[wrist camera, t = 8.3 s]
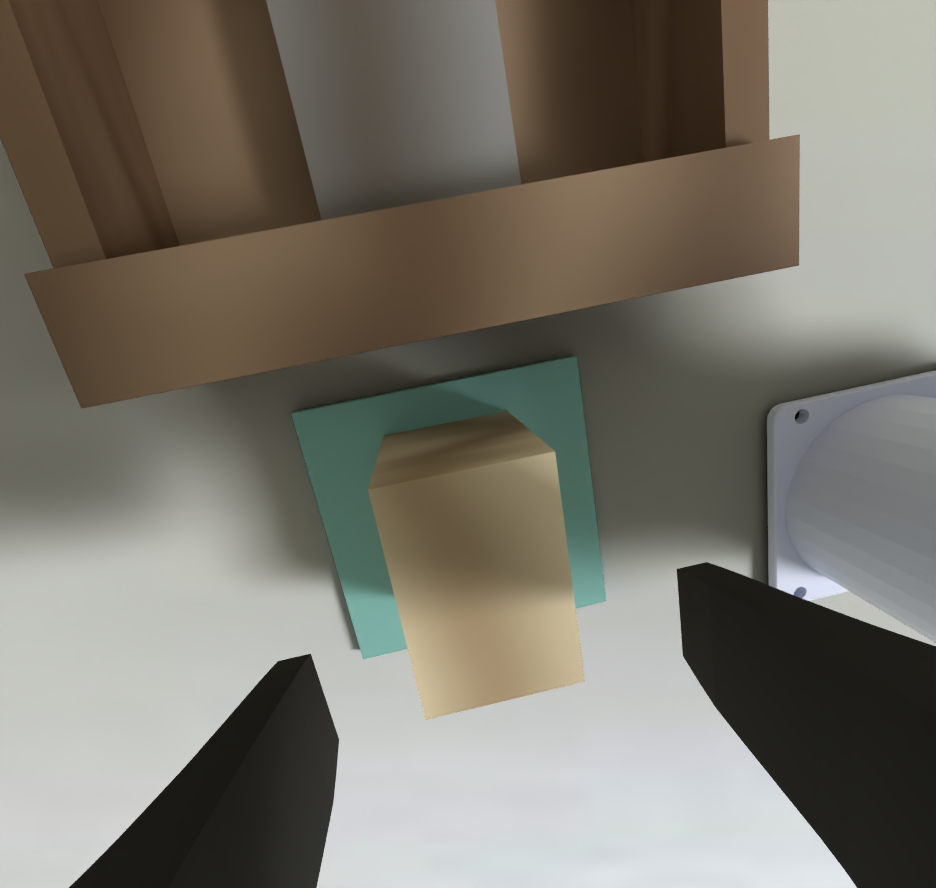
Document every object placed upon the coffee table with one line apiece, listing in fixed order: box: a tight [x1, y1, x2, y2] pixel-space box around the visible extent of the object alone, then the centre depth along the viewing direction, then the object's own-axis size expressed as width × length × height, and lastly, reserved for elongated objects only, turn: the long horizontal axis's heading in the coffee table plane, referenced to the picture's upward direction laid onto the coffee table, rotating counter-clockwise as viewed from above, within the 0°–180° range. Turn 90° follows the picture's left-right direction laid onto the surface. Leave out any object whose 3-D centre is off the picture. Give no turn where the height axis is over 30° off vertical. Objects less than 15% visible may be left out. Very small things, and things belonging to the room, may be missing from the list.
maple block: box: [368, 411, 585, 720], centre depth 13 cm, size 4×6×5 cm, turn 10°
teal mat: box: [291, 356, 606, 659], centre depth 15 cm, size 9×9×1 cm
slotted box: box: [0, 0, 800, 408], centre depth 10 cm, size 15×13×5 cm
